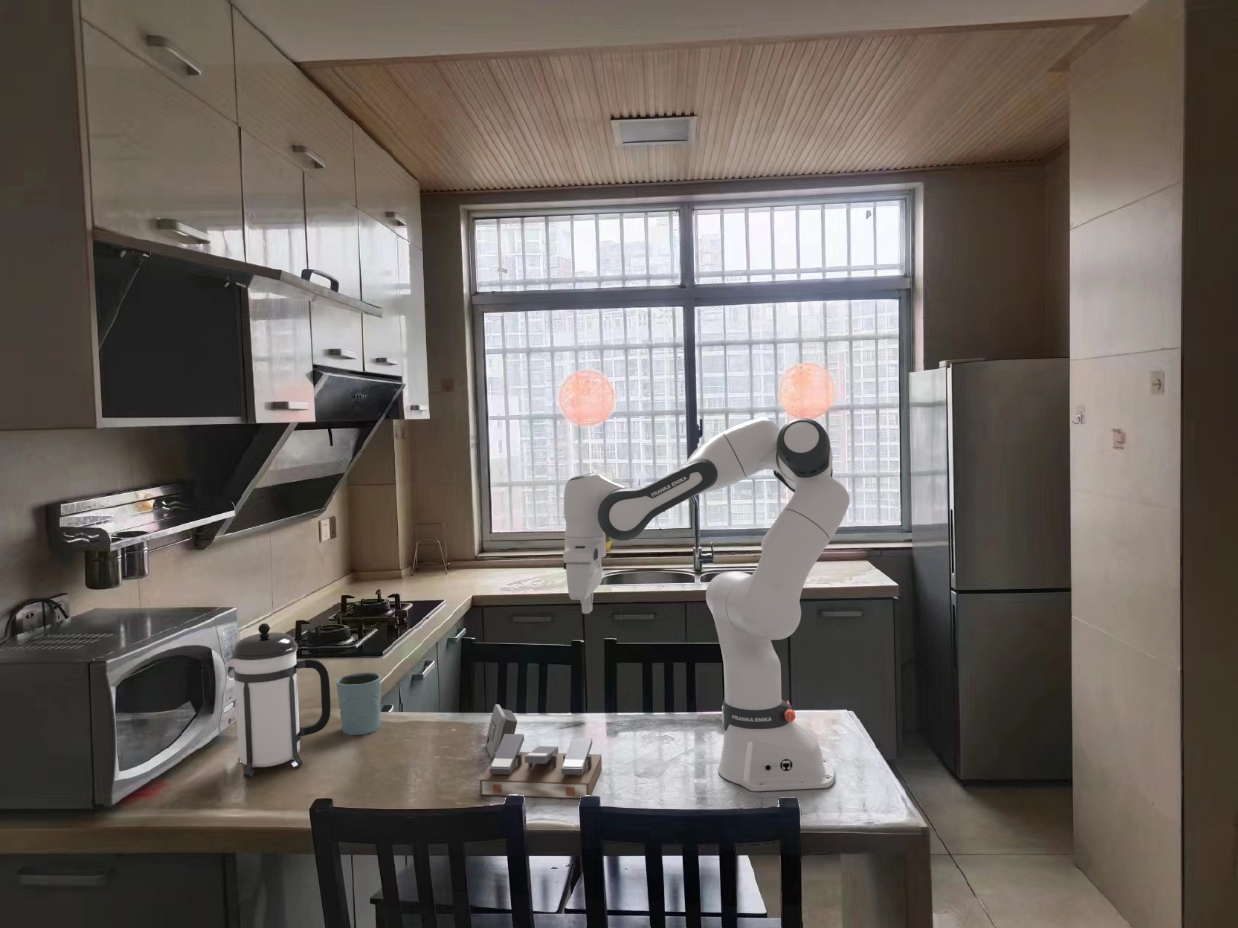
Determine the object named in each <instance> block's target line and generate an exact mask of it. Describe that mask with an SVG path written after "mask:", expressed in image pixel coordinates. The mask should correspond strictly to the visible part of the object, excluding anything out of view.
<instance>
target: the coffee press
mask: <svg viewBox="0 0 1238 928" xmlns="http://www.w3.org/2000/svg"><path fill="white" fill-rule="evenodd" d="M270 630H271V627H270V625H269V624H268V623H261V624H260V625H259V626H258V632H259V633H256V634H252V635H249V636H248V635H247V636H246V637H242V639H240V640H238V641H237V642H236V644H235V645H234V647H233V650H232V651H231V655H230V657H229V658H228V659H227V661H226V662H225V665H224V668H233V671H232V672H233V674H232V675H233V680H234V687H235V689H234V690H235V705H236V708H235V709H236V727H237V730H236V731H237V745H238V747H237V749H238V762H239V763H240V764H243V765H245V767H244V770H243V774H242V775H243V778H249V779H250V778H253V777H254V775H255V773H256V771H257V769H260V768H267V767H273V766H277V765H281V764H284V763H289V764H290V765H291V767H293V768H294V769H298V768H300V767H301V766H303V763H304V762H303V760H302V759H301V757H300V755H299V753H300V749H301V739H302V738H301V737H304V736H309V735H312V734H315V733H318V732H320V731H322V730H323V729H324V728H325V727H326V726H327V724H329V723H328V722H329V720H330V717H331V716H330V715H331V706H332V705H331V686H330V678H329V672H328V670H327V667H326V666H325V665H324V664H323V662H320V661H319V660H317V659H311V658H309V659H308V658H307V659H306V658H305V659H303V660H299V661H297V651H298V649H299V648H298V643H297V642H296V640H295V639H294V638H293V636H291V635H289V634H287V633H285V632H284V633H283V632H275V631H274V632H270ZM300 669H314V670H316V672H318V674H319V678H320V679H319V680H320V700H321V703H320V704H321V713H320V714H321V715H320V717H319V719H318V720H317V722H315V723H314V724H311V725H307V726H300V715H299V714H300V713H299V711H300V710H299V690H298V689H299V688H298V671H299V670H300Z"/></svg>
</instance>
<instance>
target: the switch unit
mask: <svg viewBox="0 0 1238 928" xmlns="http://www.w3.org/2000/svg"><path fill="white" fill-rule="evenodd" d="M496 753H497V752H495V753H494V754H493V755H494V757H495V755H496ZM529 753H530V751H529V752H528V751H527V752H525V751H520V752H519V753H518V754H517V759H516V762H515V764H514V767H513V770H512V772H511V774H490V766H491V764H490V765H489V766H488V768H487V769H486V770H485V772H484V773H483V774H482V775H481V777H480V779H479V790H480V791H479V794H480V796H491V797H492V796H493V797H494V796H496V797H499V796H500V797H507V796H506V795H509V794H518V795H524V796H526V797H525V798H545V797H546V799H547V798H549V799H551V798H553V799H572V798H573V800H574V799H578V800H580V797H582V796H585V795H591V796H592V794H593V791H594V789H595V786H596V784H597V783H598V779H599V776H600V774H601V771H602V770H603V768H602V766H603V765H602V764H603V763H602V762H603V761H602V760H603V759H602V754H598V753H597V754H596V753H593V754H592V753H589V755H588V757H587V758H588V759H587V762H586V765H585V769H584V772H583V775H572V774H562V772H561V768H562V765H563V762H564V759H565V757H566V754H567V752H566V753H564V752H562V753H561V752H558V754H553V755H552V759H550V760H549V761H548V762H547V763H546V764H543V763H525V756H526V755H528V754H529Z"/></svg>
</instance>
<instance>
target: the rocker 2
mask: <svg viewBox="0 0 1238 928" xmlns="http://www.w3.org/2000/svg"><path fill="white" fill-rule="evenodd" d="M592 745H593V738H592V737H572V738H571V740H570V744H569V746H568V749H567V752H566V753H567V754H566V757H565V759H564V762H563V765H562V768H561V772H562V774H572V775H583V772H584V769H585V765H586V762H587V759H588V758H587V757H588V755H589V754H591V753H590V752H591V750H592V747H593V746H592Z"/></svg>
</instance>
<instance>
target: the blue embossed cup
mask: <svg viewBox="0 0 1238 928" xmlns="http://www.w3.org/2000/svg"><path fill="white" fill-rule="evenodd" d="M335 684H336V689H337V690H336V691H337V697H338V707H339V710H340V712H339V714H340V721H341V729H342V733H343V734H345V735H347V736H361V735H362V736H364V735H368V733H369V734H371V732H372V733H375V732H376V730H377V731H378V730H379V729H380V727H381V701H382V699H381V689H382V676H381V674H379V673H376V672H357V673H351V674H347V675H346V674H345V675H344V676H341V677H338V678H337V680H336V682H335ZM374 731H375V732H374Z"/></svg>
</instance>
